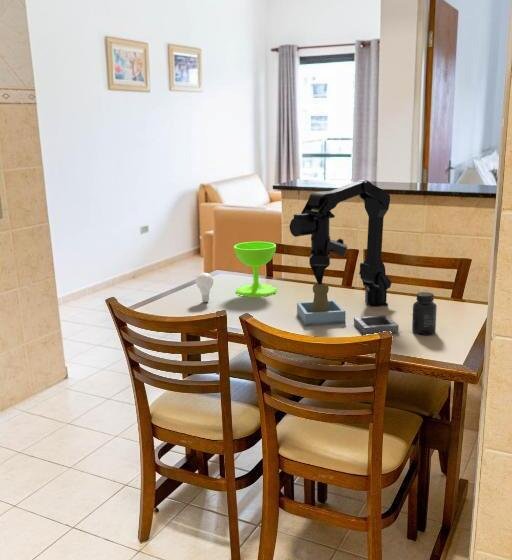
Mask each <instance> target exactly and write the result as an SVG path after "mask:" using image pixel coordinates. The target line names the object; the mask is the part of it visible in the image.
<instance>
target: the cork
mask: <svg viewBox="0 0 512 560" xmlns="http://www.w3.org/2000/svg"><path fill="white" fill-rule="evenodd" d="M329 290H330V288H329V285H328V284H327V283H325V282H322V284H318V283H317V282H316V283H314V284H313V285H312V293H313V301H312V302H313V308H312V312H327V311H329V305H328V301H329V299H328V293H329Z"/></svg>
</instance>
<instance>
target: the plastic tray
mask: <svg viewBox="0 0 512 560" xmlns="http://www.w3.org/2000/svg"><path fill="white" fill-rule="evenodd" d="M328 305H329V311H327V312H312V308H313V301H303V302H302V301H301V302H296V314H297V316H298V317H299V319H300V321H301V322H302V323H303V324H304V326H305V327H309V326H311V327H312V326H325V325H336V324H337V325H338V324H340V325H341V324H346V310H345V308H343V307H342V306H341V305H340V303H338V302H337V301H336V300H335V299H331V300H330V299H328Z"/></svg>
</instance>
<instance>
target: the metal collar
mask: <svg viewBox="0 0 512 560" xmlns="http://www.w3.org/2000/svg"><path fill="white" fill-rule="evenodd" d="M353 325H354V326H355V328H356V329H357V330H358V331H359V332H360V333H361V334H362V335H363V336H364V335H366V334H374V333H379V332H383V331H391V332H392V334H391V335H393V334H399V324H398V323H396V321H394V320H393V319H392V318H391V317H390V316H388V315H387V314H383V315H380V314H379V315H369V316H355V317H353Z"/></svg>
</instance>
